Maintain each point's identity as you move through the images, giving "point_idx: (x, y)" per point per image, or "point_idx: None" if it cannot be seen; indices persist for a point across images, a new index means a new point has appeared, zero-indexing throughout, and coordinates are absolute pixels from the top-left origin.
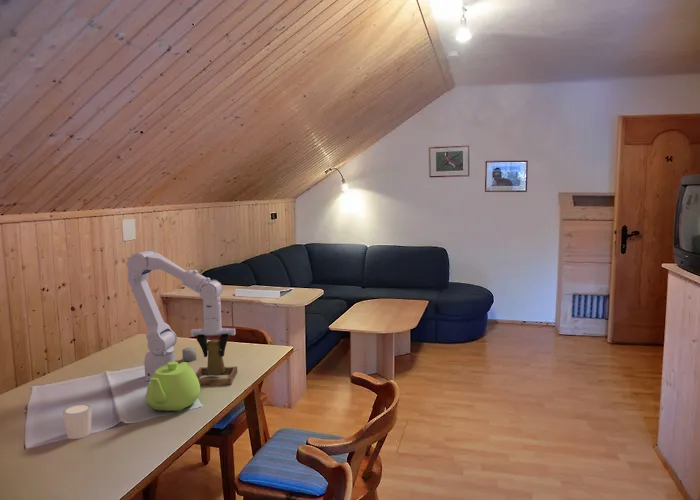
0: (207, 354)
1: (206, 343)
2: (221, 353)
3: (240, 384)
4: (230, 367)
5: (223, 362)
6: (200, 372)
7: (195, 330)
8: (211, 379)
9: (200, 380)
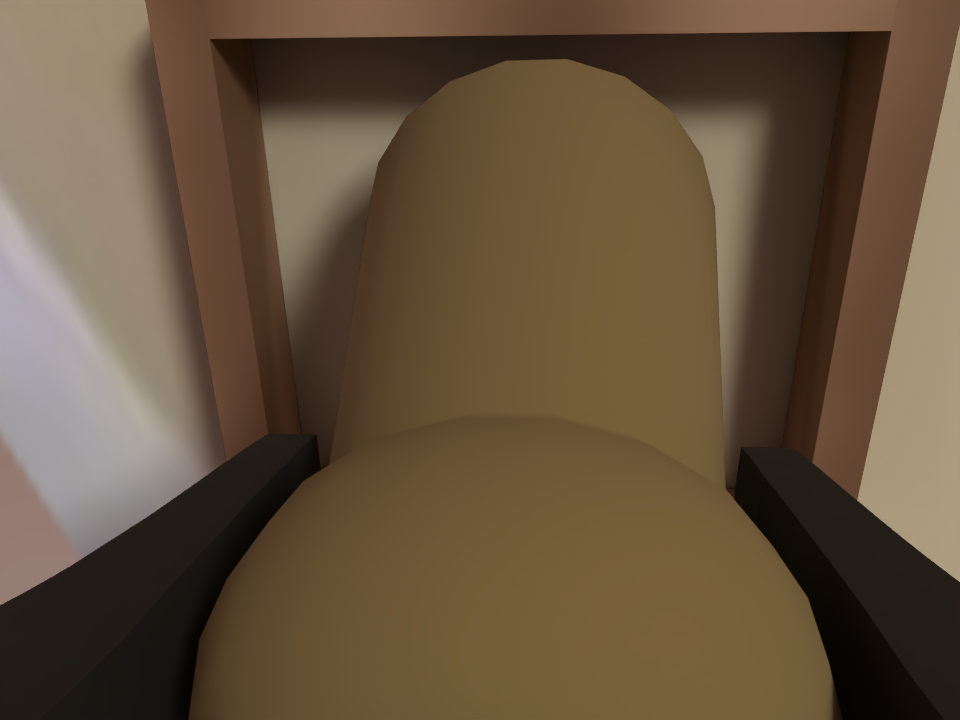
0: (311, 448)
1: (148, 695)
2: None
3: (945, 526)
4: (814, 23)
5: (717, 301)
6: (242, 185)
7: None
8: None
9: None
